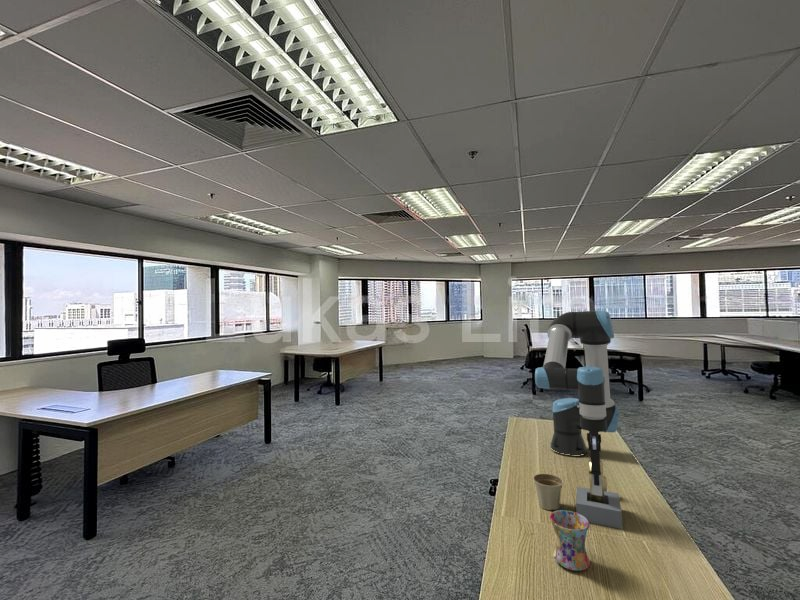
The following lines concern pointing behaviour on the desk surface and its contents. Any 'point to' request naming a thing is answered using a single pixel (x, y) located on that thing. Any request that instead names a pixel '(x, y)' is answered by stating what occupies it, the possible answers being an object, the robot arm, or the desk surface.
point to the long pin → (602, 498)
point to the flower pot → (548, 490)
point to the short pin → (605, 483)
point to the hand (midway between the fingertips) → (597, 491)
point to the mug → (570, 539)
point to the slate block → (599, 508)
